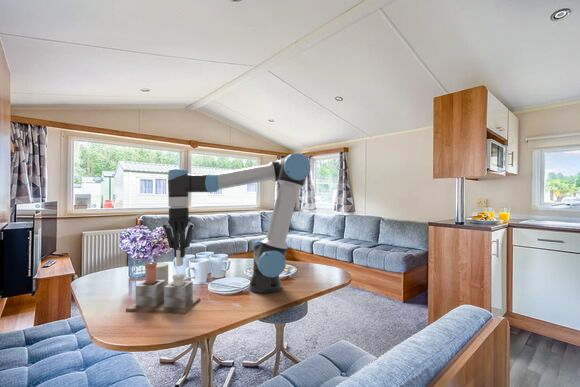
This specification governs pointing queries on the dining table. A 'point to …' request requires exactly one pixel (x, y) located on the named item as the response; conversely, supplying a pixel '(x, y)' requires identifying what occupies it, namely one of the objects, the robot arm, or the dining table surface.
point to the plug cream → (178, 279)
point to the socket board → (164, 298)
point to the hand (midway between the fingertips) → (179, 265)
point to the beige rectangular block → (162, 272)
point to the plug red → (150, 273)
